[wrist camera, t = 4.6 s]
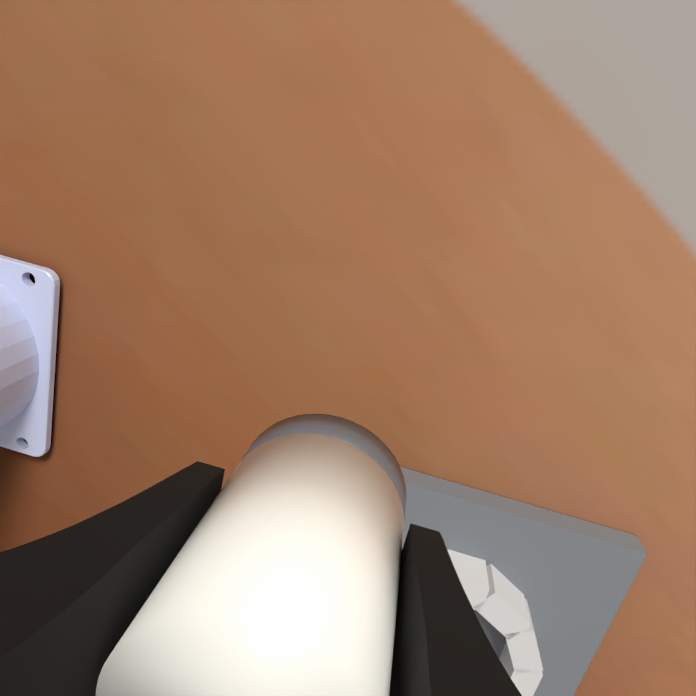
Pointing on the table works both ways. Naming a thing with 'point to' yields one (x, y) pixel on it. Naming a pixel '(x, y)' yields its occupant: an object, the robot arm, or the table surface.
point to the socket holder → (529, 577)
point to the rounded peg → (279, 577)
